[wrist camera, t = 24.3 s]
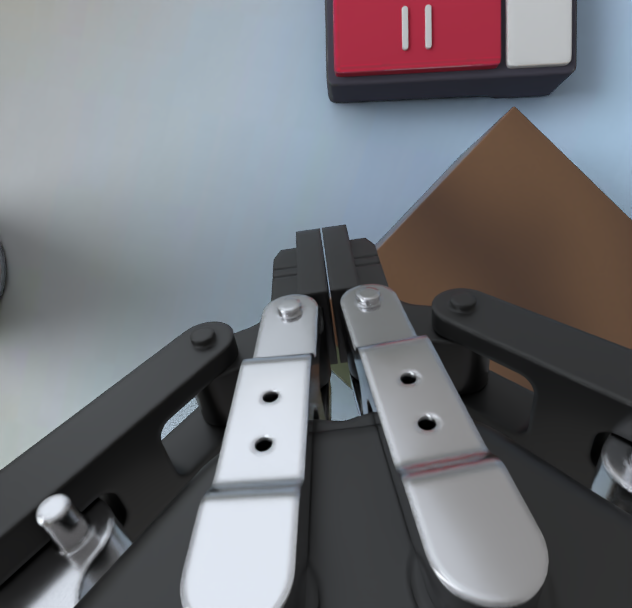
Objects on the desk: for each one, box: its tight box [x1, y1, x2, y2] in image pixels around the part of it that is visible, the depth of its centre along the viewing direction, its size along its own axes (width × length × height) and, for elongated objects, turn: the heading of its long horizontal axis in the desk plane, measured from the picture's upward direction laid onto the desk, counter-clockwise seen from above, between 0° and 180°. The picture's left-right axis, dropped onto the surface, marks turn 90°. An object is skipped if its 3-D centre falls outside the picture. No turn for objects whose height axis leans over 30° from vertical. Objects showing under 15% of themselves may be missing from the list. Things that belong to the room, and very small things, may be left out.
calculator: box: [325, 0, 577, 103], centre depth 30 cm, size 11×4×15 cm
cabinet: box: [329, 107, 632, 392], centre depth 28 cm, size 15×15×9 cm
